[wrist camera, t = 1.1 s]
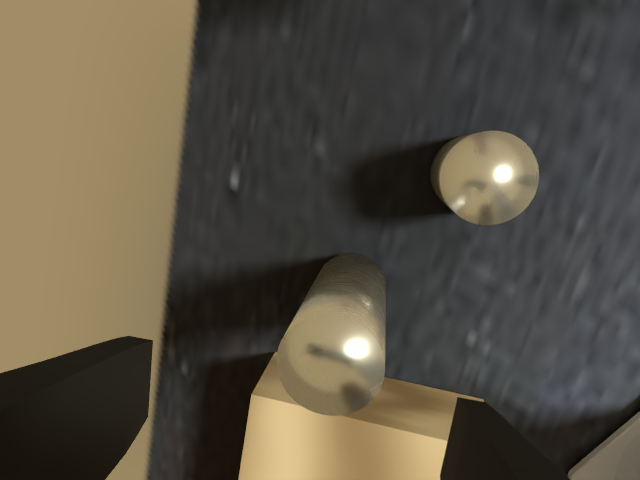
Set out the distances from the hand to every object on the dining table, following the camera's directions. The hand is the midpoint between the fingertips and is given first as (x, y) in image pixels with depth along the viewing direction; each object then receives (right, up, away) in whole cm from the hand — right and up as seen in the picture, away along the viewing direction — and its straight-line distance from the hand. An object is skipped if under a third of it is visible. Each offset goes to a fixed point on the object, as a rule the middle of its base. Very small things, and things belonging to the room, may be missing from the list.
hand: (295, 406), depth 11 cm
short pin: (+7, +7, +9) cm, 13 cm away
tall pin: (+2, +2, +11) cm, 11 cm away
